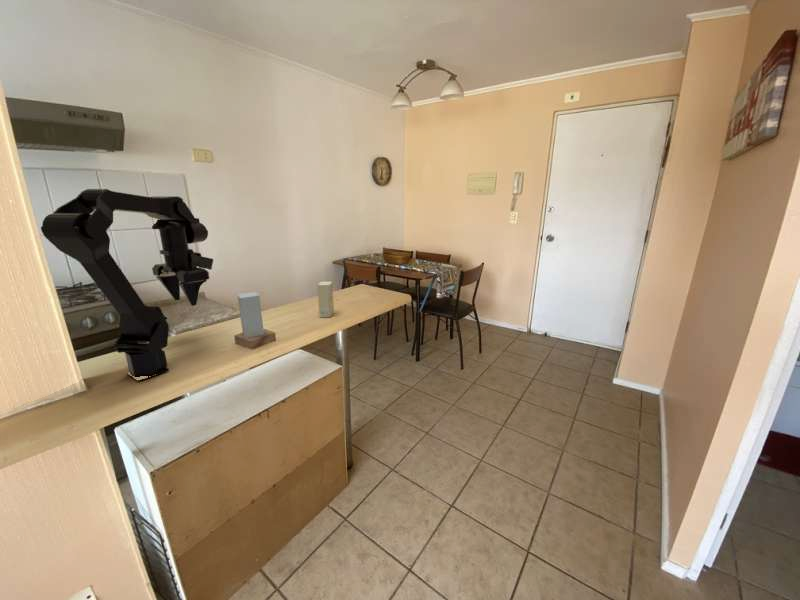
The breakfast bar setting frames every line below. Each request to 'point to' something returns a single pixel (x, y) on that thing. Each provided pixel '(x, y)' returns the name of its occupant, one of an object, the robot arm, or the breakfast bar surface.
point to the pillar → (250, 314)
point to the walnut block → (255, 339)
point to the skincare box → (325, 299)
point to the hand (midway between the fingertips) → (185, 302)
